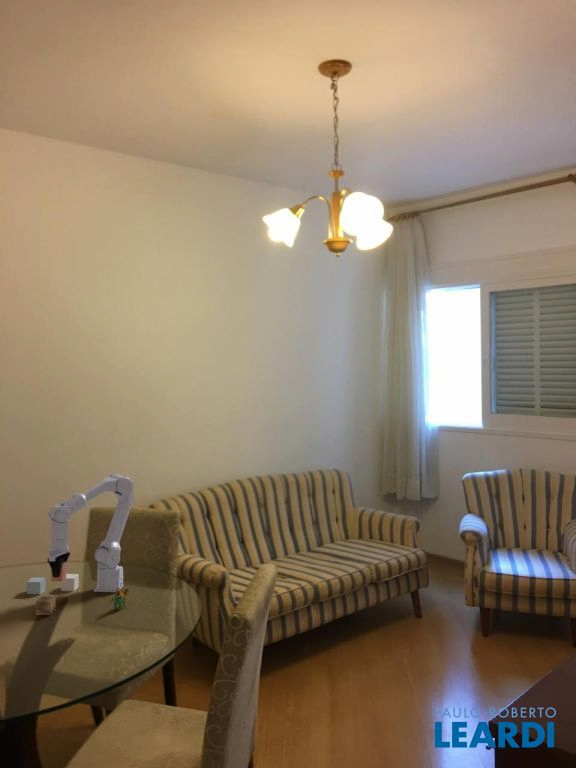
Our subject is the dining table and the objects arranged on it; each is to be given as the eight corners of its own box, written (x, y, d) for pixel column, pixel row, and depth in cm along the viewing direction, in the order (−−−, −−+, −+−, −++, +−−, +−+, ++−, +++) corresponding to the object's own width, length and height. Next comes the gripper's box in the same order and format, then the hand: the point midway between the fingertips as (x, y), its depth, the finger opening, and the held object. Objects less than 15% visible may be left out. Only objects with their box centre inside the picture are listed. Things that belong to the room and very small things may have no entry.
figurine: (132, 604, 233) (132, 582, 232) (111, 616, 222) (111, 593, 221) (124, 603, 234) (125, 581, 234) (104, 615, 223) (104, 591, 222)
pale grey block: (78, 586, 249) (78, 574, 249) (74, 591, 244) (74, 578, 244) (65, 586, 250) (65, 573, 249) (61, 591, 245) (61, 578, 244)
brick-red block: (66, 577, 237) (66, 561, 236) (62, 581, 233) (62, 565, 232) (55, 577, 237) (55, 561, 237) (51, 581, 233) (51, 564, 233)
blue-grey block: (45, 590, 245) (45, 577, 244) (40, 595, 240) (40, 582, 239) (32, 590, 245) (32, 577, 244) (26, 595, 240) (27, 581, 239)
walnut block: (55, 610, 225) (55, 596, 225) (50, 616, 220) (50, 602, 220) (41, 610, 226) (41, 596, 225) (35, 616, 221) (35, 601, 220)
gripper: (55, 532, 241) (55, 568, 242) (40, 543, 227) (39, 581, 227) (74, 533, 241) (73, 568, 242) (60, 544, 227) (59, 581, 227)
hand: (58, 574), depth 235 cm, fingers closed on brick-red block, 4 cm apart
